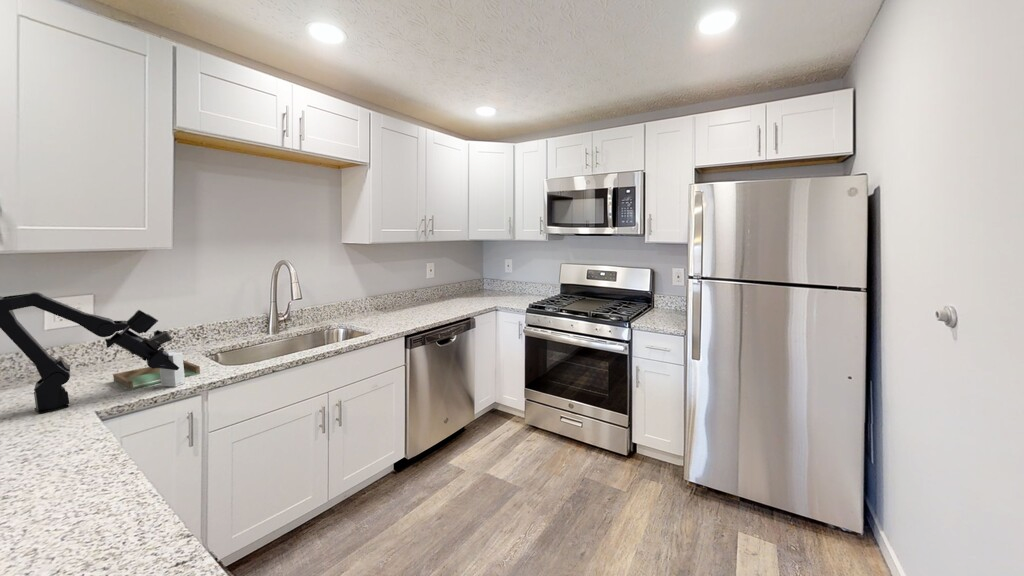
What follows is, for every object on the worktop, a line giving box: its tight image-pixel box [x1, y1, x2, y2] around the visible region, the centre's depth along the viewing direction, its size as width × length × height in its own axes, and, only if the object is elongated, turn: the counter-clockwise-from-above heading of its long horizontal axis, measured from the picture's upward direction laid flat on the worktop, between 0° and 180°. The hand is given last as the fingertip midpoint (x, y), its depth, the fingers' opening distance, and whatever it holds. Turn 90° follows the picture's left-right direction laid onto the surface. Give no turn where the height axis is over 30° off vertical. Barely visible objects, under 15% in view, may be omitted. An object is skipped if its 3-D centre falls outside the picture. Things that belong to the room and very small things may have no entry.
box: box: [112, 359, 201, 391], centre depth 163 cm, size 22×16×3 cm
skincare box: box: [160, 351, 186, 388], centre depth 155 cm, size 6×4×12 cm
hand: (176, 366), depth 156 cm, fingers closed on skincare box, 7 cm apart
